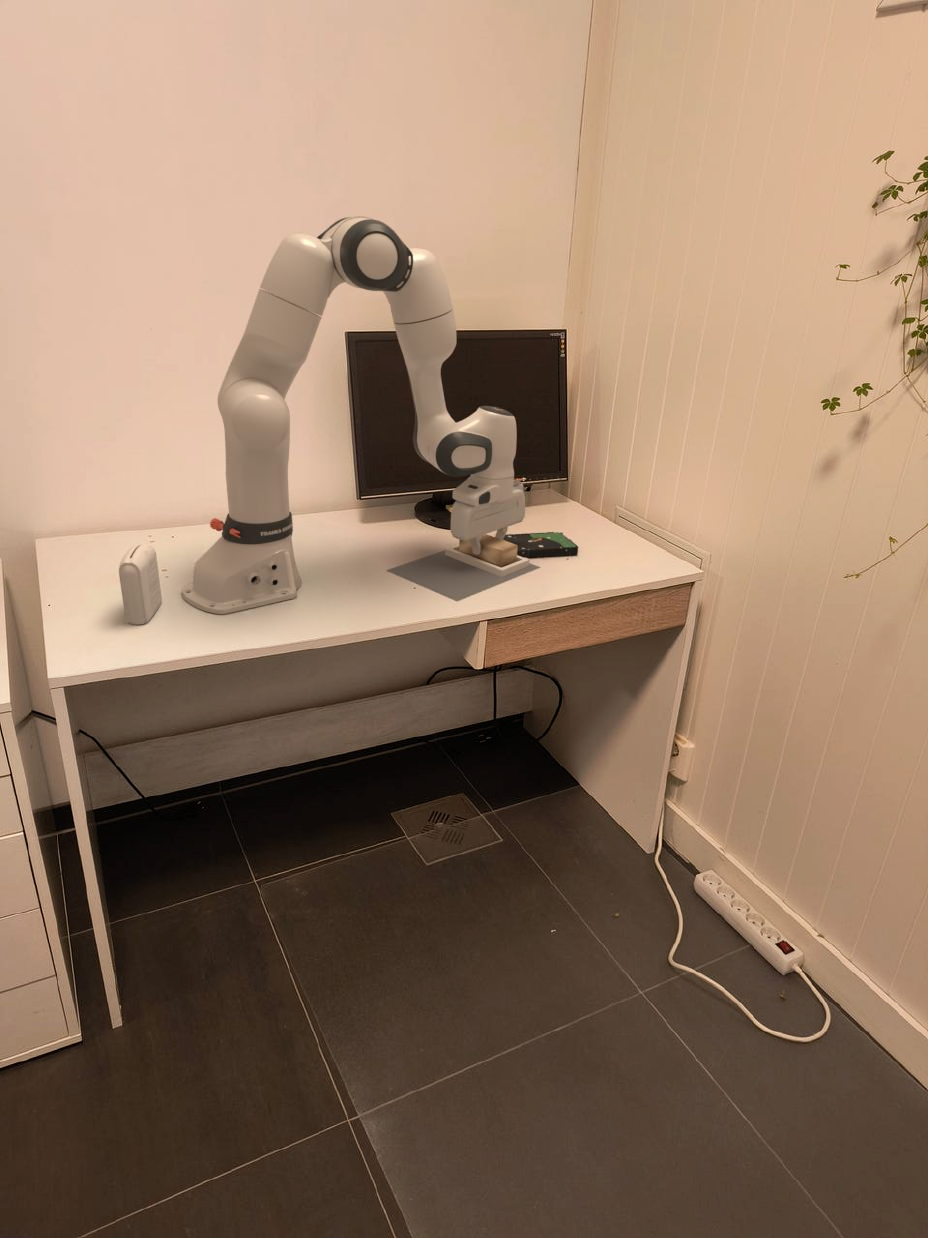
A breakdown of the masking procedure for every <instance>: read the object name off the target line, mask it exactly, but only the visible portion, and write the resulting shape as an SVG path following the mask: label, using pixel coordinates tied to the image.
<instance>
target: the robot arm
mask: <svg viewBox="0 0 928 1238" xmlns="http://www.w3.org/2000/svg"><path fill="white" fill-rule="evenodd" d="M344 283H346V284H347V285H349V286H351V287H353V288H357V289H362V290H366V291H370V292H371V291H372V292H382V293H384V295H385V297H386V299H387V302H388V304H389V307H390V312H391V316H392V320H393V325H394V329H395V333H396V336H397V340H398V344H399V346H400V349H401V353H402V355H403V359H404V362H405V363H404V364H405V366H406V372H407V375H408V376H407V377H408V382H409V387H410V391H411V392H410V393H411V397H412V401H413V402H412V403H413V408H414V413H415V414H414V415H415V418H414V419H415V420H414V428H413V433H412V444H413V448H414V450H415V452H416V454H417V455H418V457H419V458H421V459H422V460H424V461H425V462H427V463H429V464H431V465H432V466H433V467H434V468H436V469H437V470H438V471H440V472H441V473H443V474H445V475H447V476H449V477H451V478H452V477H453V478H460V477H465V476H469V477H468V478H466V480H465V481H463V482H462V483H461V484H459V485H458V486H457V487H455V488H454V489H453V491H452V499H453V500H455V502H453V505H452V507H451V514H450V534H451V536H452V537H453V538H455V539H457V540H458V541H459V540H462V541H466V540H469V539H470V542H471V544H472V545H473V548H472V552H473V553H474V554H476V555H479V554H481V553H483V546H482V545H480V542H479V540H481V535H484V534H487V535H488V534H489V533H493V532H495V535H494V537H496V538H499V539H501V540H503V539H504V537H505V535H506V534H507V533H508V529H509V528H508V527H511V526H513V525H516V524H517V525H518V524H520V523H522V522H523V520H524V519H525V517H526V516H525V514H526V498H525V492H524V484H523V482H522V481H520V479H516V480H514V479H515V470H514V459H515V458H516V454H517V453H516V452H517V436H518V435H517V422H516V417H515V416H514V415H513V414H512V413H511V412H510V411H508V410H506V409H504V408H500V407H497V406H492V405H491V406H490V405H482V406H479V407H478V408H477V409H476V411H475V412H473V413H472V414H471V415H469V416H468V417H466V418H464V419H462V420H459V421H457V422H456V421H455V420H454V419H453V418H452V417H451V415H450V413H449V412H448V410H447V406H446V400H445V396H444V390H443V389H444V388H443V387H444V386H443V383H442V375H441V372H442V371H441V369H442V366H443V364H444V362H445V361H447V359H448V358H449V357H450V356H451V355H452V354H453V352H454V350H455V348H456V346H457V324H456V323H457V322H456V315H455V312H454V307H453V303H452V298H451V294H450V291H449V287H448V284H447V281H446V278H445V275H444V272H443V270H442V266H441V265H440V263H439V260H438V259H437V256H436V255H435V254H434V253H433V252H432V251H430V250H428V249H425V248H420V247H411V248H409V247H408V246H407V244H405V243H404V241H402V238H400V236H399V235H398V234H397V233H396V231H394V229H393V228H392V227H391V226H389V225H388V224H386V223H384V222H383V221H380V220H377V219H373V218H370V217H369V216H363V215H362V216H361V215H360V216H359V215H358V216H357V215H356V216H346V217H344V218H340V219H338V220H336V221H335V222H333V223H332V224H331V225H330V226H329V227H327V229H325V230H324V231H322V233H320V234H319V235H318V236H317V237H315V236H313V235H311V234H307V233H303V232H301V233H299V232H296V233H290V234H287V235H286V236H285V237H284V238H283V239H282V241H281V242H280V244H279V246H278V247H277V249H276V251H275V252H274V254H273V256H272V258H271V260H270V262H269V264H268V266H267V269H266V270H265V273H264V276H263V278H262V281H261V283H260V287H259V289H258V292H257V294H256V298H255V301H254V303H253V307H252V309H251V312H250V315H249V318H248V321H247V324H246V327H245V329H244V332H243V335H242V336H241V340H240V341H239V344H238V346H237V348H236V351H235V352H234V353H233V354H234V355H233V356H232V358H231V362H230V364H229V366H228V369H227V371H226V373H225V374H224V375H225V376H224V377H223V378H224V379H223V380H222V383H221V386H220V389H219V392H218V395H217V406H218V411H219V413H220V416H221V420H222V423H223V427H224V443H225V445H224V447H225V480H226V481H225V483H226V495H227V496H226V497H227V505H228V506H227V507H228V514H227V515H226V518H225V522H224V521H222V520H220V519H218V518H216V517H215V518H212V519H211V520H210V522H209V527H210V528H211V529H212V530H216V531H217V532H221V531H222V532H221V536H220V537H219V538H218V539H217V540H216V542H214V544H212V546H210V547H209V548H208V549H207V550H206V552H204V553H203V555H201V556H200V557H199V558H198V559H197V560H196V562H195V563H194V567H193V568H194V569H193V576H192V582H191V583H188V584H186V585H183V586H182V588H181V596H182V598H183V599H184V600H185V602H187V603H188V604H189V605H192V606H193V607H195V608H196V609H199V610H200V611H201V610H202V611H203V612H208V613H212V614H218V615H225V614H230V613H235V612H238V611H239V612H240V611H243V610H249V609H252V608H257V607H261V606H265V605H271V604H275V603H279V602H283V601H287V600H292V599H295V598H296V597H297V595H298V593H297V591H298V589H299V588H300V586H301V584H302V579H301V576H300V573H299V571H298V567H297V562H296V559H295V554H294V553H295V552H294V549H293V548H294V547H293V539H292V535H293V532H294V525H293V514H292V512H291V511H290V497H289V496H290V494H289V493H290V492H289V473H288V472H289V459H290V443H291V441H290V439H291V438H290V435H291V414H290V409H289V406H288V404H287V401H286V400H285V399H286V396H287V394H288V392H289V390H290V388H291V385H292V384H293V383H294V380H295V379H296V377H297V374H298V372H299V371H300V370H301V368H302V366H303V365H304V364H305V362H306V360H307V358H308V355H309V354H310V350H311V347H312V345H313V342H314V338H315V337H316V334H317V331H318V328H319V326H320V323H321V320H322V317H323V314H324V311H325V309H326V307H327V303H328V299H329V298H330V297H331V295H332V293H333V291H334V290H335V289H336V288H337V287H338V286H340V285H342V284H344Z"/></svg>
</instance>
